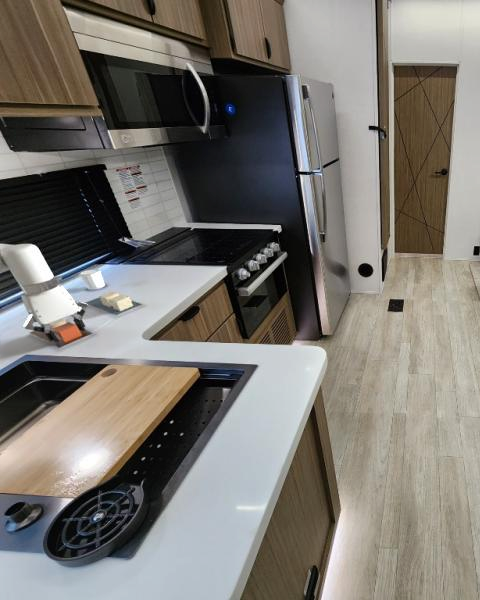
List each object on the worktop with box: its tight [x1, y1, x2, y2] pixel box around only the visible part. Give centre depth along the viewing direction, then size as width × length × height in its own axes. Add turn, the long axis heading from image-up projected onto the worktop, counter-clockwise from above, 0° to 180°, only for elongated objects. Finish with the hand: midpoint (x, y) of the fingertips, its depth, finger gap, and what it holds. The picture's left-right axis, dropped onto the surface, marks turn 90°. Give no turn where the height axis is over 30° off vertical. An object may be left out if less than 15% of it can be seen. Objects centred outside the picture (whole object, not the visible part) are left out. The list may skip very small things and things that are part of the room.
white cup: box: [78, 268, 106, 291], centre depth 140 cm, size 7×7×7 cm
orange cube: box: [52, 321, 82, 342], centre depth 106 cm, size 4×4×4 cm
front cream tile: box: [50, 318, 68, 334], centre depth 109 cm, size 4×4×4 cm
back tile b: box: [98, 290, 121, 307], centre depth 126 cm, size 4×4×4 cm
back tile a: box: [109, 294, 133, 311], centre depth 124 cm, size 4×4×4 cm
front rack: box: [29, 321, 94, 349], centre depth 110 cm, size 20×9×1 cm, turn 64°
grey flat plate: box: [84, 296, 143, 316], centre depth 127 cm, size 22×9×1 cm, turn 64°
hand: (68, 335), depth 107 cm, fingers open, 6 cm apart
